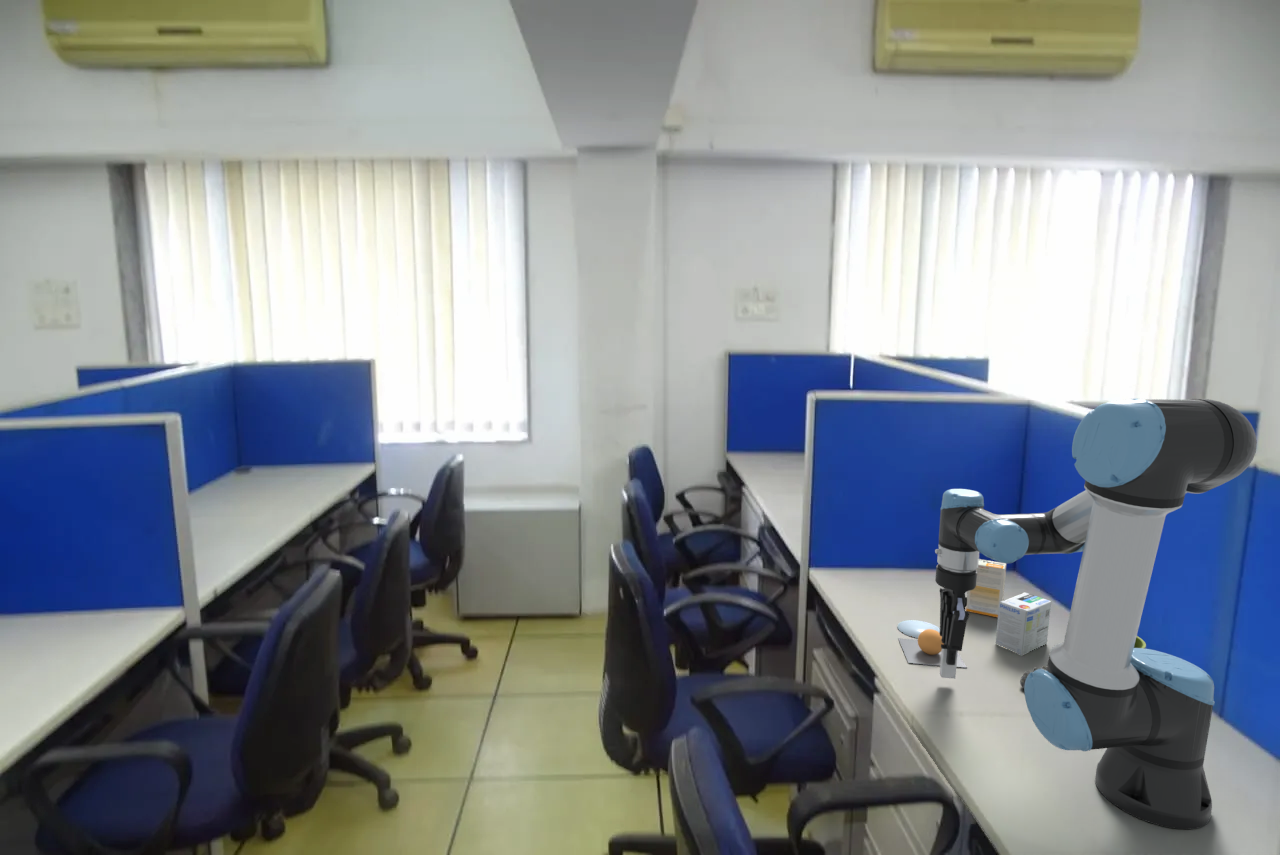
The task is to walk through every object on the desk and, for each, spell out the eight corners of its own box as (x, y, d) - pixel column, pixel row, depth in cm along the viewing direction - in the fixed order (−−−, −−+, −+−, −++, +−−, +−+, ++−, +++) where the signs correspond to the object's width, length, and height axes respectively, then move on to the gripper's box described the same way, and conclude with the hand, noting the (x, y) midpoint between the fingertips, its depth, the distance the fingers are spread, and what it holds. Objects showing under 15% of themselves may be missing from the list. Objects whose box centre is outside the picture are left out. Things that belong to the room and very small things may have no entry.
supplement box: (1002, 612, 186) (1007, 563, 184) (1000, 618, 182) (1005, 568, 180) (967, 604, 191) (972, 556, 189) (964, 611, 187) (969, 562, 185)
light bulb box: (1019, 633, 174) (1024, 590, 172) (1048, 645, 169) (1053, 600, 167) (993, 645, 168) (998, 600, 167) (1022, 656, 163) (1027, 611, 161)
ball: (944, 661, 162) (948, 642, 159) (918, 659, 163) (922, 640, 160) (939, 643, 167) (943, 624, 164) (914, 640, 168) (917, 622, 165)
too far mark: (946, 640, 170) (946, 640, 170) (901, 637, 172) (901, 636, 172) (936, 622, 180) (936, 621, 180) (894, 619, 181) (894, 618, 181)
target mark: (966, 668, 157) (966, 667, 157) (908, 663, 159) (908, 662, 159) (952, 643, 169) (952, 642, 169) (898, 639, 171) (898, 638, 171)
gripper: (929, 554, 153) (921, 659, 157) (945, 577, 140) (935, 690, 144) (967, 556, 152) (958, 662, 156) (986, 579, 139) (976, 694, 143)
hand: (947, 676), depth 150 cm, fingers closed
